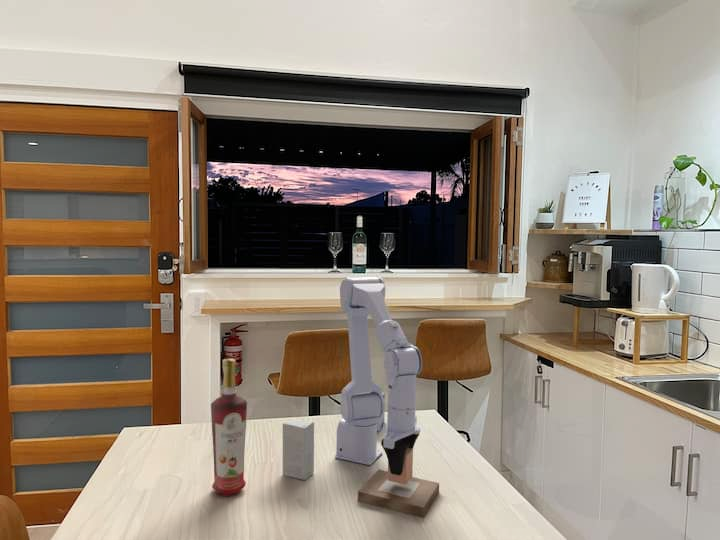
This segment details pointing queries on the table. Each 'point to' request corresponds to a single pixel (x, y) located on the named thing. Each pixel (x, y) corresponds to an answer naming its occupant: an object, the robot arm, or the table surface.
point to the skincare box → (298, 448)
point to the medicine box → (379, 424)
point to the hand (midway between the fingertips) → (399, 469)
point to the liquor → (229, 435)
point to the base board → (399, 494)
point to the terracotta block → (406, 471)
